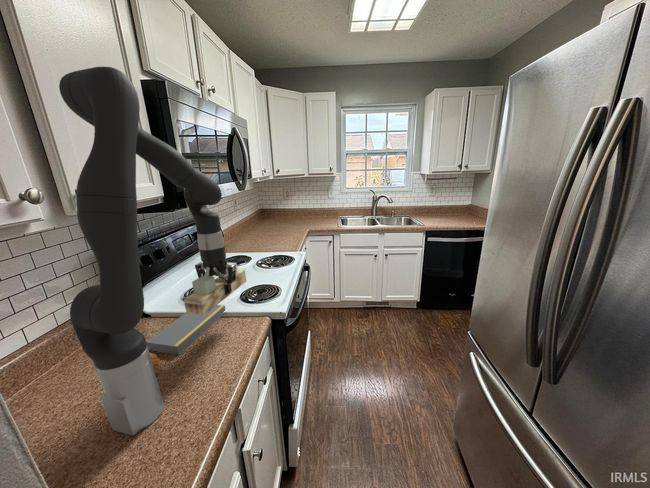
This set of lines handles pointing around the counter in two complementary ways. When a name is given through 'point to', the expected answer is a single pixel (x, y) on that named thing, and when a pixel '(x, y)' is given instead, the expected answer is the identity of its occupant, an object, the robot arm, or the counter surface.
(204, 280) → the crate sage
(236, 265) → the crate grey
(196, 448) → the counter surface
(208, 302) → the beige blocky bar
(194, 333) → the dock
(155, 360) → the pastry
